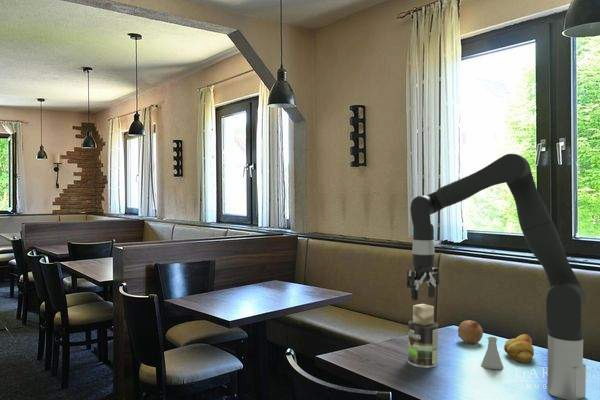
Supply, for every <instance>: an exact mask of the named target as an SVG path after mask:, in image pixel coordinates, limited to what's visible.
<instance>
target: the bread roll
mask: <svg viewBox="0 0 600 400" xmlns="http://www.w3.org/2000/svg"><path fill="white" fill-rule="evenodd" d="M532 344H533V340H532V338H531V336H530V334H527V333H522V334H520V335H518V336H517V337H515V338H510V339H507V341H505V343H504V345H503V349H504V352H505V353H506V354H507V356H508V357H509V358H510V359H513V360H516V361H517V362H520V363H525V364H526V363H531V361H532V360H533V357H534V355H535V351H534V346H533V345H532Z"/></svg>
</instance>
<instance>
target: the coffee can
mask: <svg viewBox="0 0 600 400" xmlns="http://www.w3.org/2000/svg"><path fill="white" fill-rule="evenodd" d="M407 322H408V323H407V324H408V336H407V337H408V338H407V339H408V341H407V342H408V345H407V346H408V347H407V350H408V351H407V363H408V364H409V365H411V366H413V367H416V368H422V369H423V368H425V369H430V368H435V367H437V366H438V351H439V350H438V348H439V347H438V346H439V342H438V341H439V340H438V339H439V323H438V322H437V321H434V323H433V324H429V325H420V324H417V323H413V319H411V320H409V321H407Z"/></svg>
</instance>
